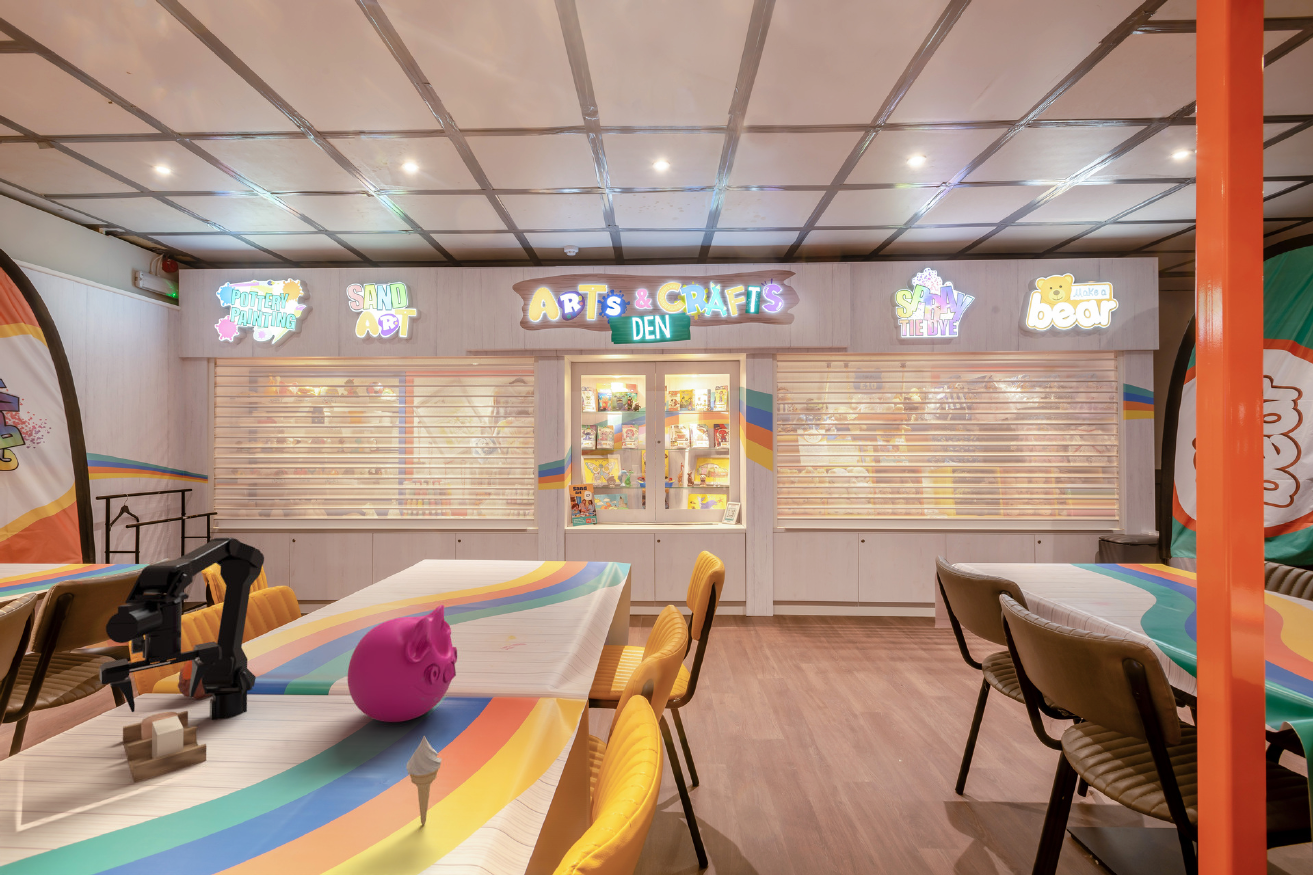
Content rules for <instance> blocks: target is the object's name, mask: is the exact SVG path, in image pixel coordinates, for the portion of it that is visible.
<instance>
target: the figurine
mask: <svg viewBox="0 0 1313 875" xmlns="http://www.w3.org/2000/svg"><path fill="white" fill-rule="evenodd" d="M451 635H452V628H451V626H450V624H449V623H448V622H447V621H446V620H445V605H444V604H440V605H439V606H437V607H436V608H435V609H433V610H432V612H430V613H428V614H426V615H421V616H403V617H402V616H401V617H396V618H392V619H389V620H387V621H383V622H382V623H379V624H378V625H376V626H374V627H373V628H371V629H370V630H369V631H367V633H366V634H365V635H364V636H363V637H362V638H361V639H360V640H359V641H358V643H357V644H356V646H355V648H354V650H353V652H352V655H351V657H350V660H349V664H348V668H347V686H348V691H349V694H350V695H349V696H350V697H351V698H352V701H353V703H354V705H355V706H356V708H358V710H360V712H361V713H363V714H365V715H366V716H368V717H369V718H372V719H374V720H377V721H381V722H385V723H400V722H405V721H410V720H413V719H416V718H419V717H420V716H422V715H425V714H426V713H428V712H429V711H431V710H432V709H433V708H434V707H436V706H437V704H438V703H440V702H441V700H443V697H444V696H445V694H447V691H448V690H449V687H450V685H451V682H452V680H453V679H454V678H455V677H456V676H457V672H456V663H457V661H458V649H457V646H453V641H452V637H451Z"/></svg>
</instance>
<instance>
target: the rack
mask: <svg viewBox="0 0 1313 875" xmlns="http://www.w3.org/2000/svg"><path fill="white" fill-rule="evenodd" d="M177 713H178V719H179V720H180V722H181V724H182V726H183V750H182V751H179V752H175V753H172V754H168V755H165V756H161V757H158V758H154V759H153V758H152V738H150V739H146V740H143V741H141V722H142V721H140V722H137V723H133V724H129V725H125V726H123V727H122V744H123V747H124V750H125V755H126V757H127V761H128V766H129V768H130V772H131V777H132V781H133V783H134V784H135V783H138V782H141V781H145V780H147V779H151V778H154V777H157V776H161V775H163V774H167V773H171V772H173V771H178V770H181V769H184V768H186V767H190V766H193V765H197V764H200V763H203V762H207V744H206V743H203V744H200V745H199V743H198V742H197V733H198V732H197V730H198V729H197V728H198V727H197V726H196V725H195V726H191V727H189V711H188V710H185V711H180V712H177Z"/></svg>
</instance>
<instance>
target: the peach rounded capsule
mask: <svg viewBox="0 0 1313 875" xmlns="http://www.w3.org/2000/svg"><path fill="white" fill-rule="evenodd" d="M178 713H179V712H177V711H165V712H159V713H156V714H152V715H149V716H147V717H145V718H143V719H142V720H141V721H140V722H141V741H143V740H146V739H150V738H152V722H154V721H158V720H162V719H166V718H170V717H174V716H177V717H178Z"/></svg>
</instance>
